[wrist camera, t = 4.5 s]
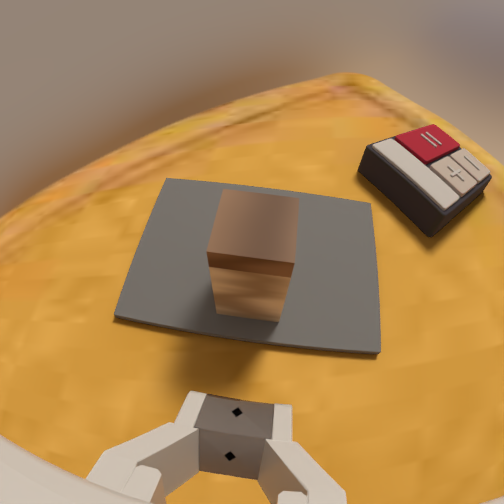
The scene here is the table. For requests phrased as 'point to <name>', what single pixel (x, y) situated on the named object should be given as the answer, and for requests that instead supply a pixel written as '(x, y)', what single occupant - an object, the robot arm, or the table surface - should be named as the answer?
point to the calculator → (425, 175)
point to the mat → (300, 287)
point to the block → (252, 253)
